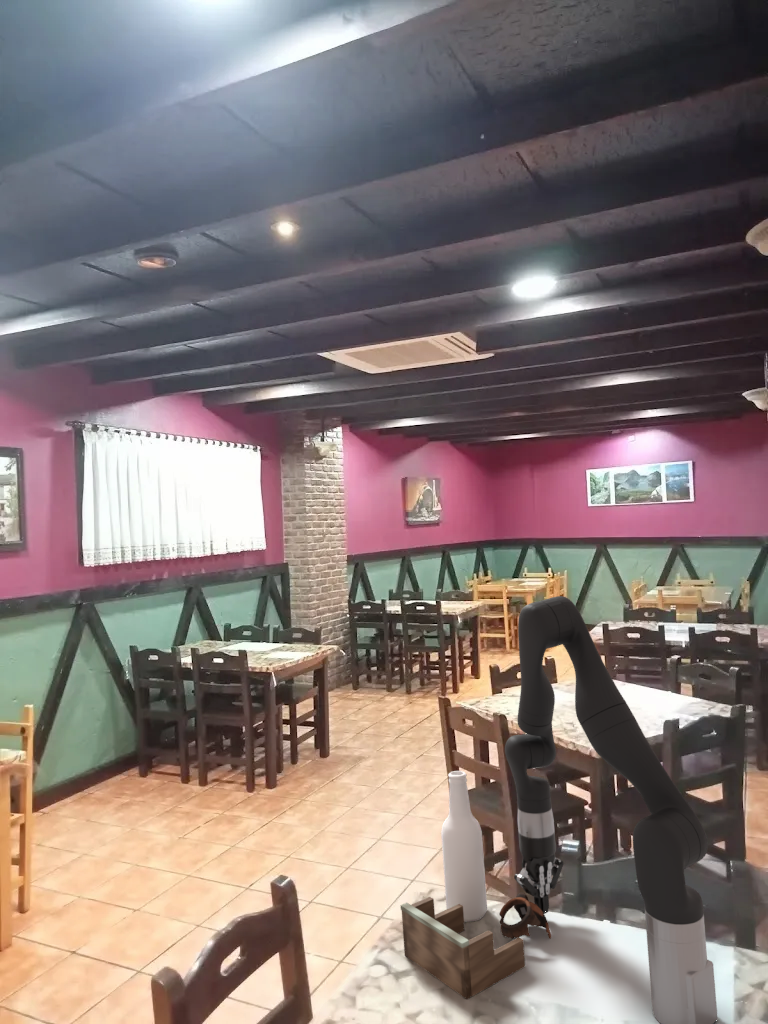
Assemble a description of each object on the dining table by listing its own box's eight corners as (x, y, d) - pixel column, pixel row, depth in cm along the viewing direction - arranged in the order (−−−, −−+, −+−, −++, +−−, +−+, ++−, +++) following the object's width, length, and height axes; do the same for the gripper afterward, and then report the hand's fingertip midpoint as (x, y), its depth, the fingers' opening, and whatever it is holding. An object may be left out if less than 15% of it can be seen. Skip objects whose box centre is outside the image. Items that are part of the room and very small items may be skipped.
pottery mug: (559, 949, 145) (538, 918, 143) (516, 969, 146) (496, 939, 145) (547, 903, 157) (528, 874, 155) (508, 922, 158) (489, 894, 156)
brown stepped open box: (525, 966, 139) (521, 913, 139) (466, 999, 130) (462, 943, 131) (460, 928, 154) (457, 880, 154) (403, 955, 145) (400, 905, 146)
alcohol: (473, 927, 154) (463, 782, 155) (438, 916, 160) (429, 776, 160) (495, 909, 161) (485, 770, 162) (461, 898, 166) (451, 764, 167)
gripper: (526, 844, 149) (533, 930, 148) (571, 825, 156) (577, 907, 156) (500, 833, 155) (507, 916, 155) (544, 815, 163) (550, 895, 162)
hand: (542, 911), depth 155 cm, fingers closed
